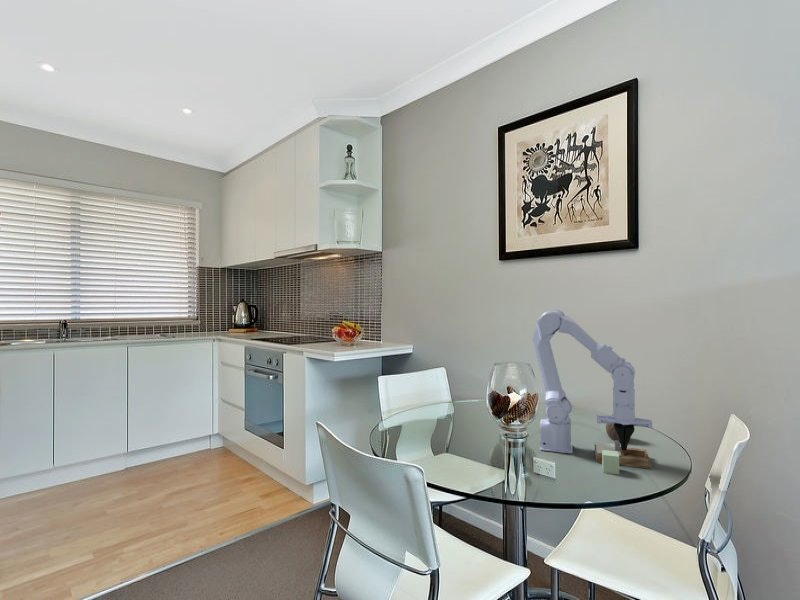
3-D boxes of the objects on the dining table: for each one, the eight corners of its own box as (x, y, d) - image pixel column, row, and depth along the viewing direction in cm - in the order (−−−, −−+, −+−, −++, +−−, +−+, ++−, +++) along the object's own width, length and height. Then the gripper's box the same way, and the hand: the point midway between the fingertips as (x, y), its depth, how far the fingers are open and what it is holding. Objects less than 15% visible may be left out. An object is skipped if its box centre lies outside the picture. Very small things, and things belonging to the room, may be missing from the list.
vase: (631, 443, 143) (631, 416, 142) (609, 442, 144) (608, 415, 144) (625, 436, 149) (625, 410, 149) (603, 435, 151) (603, 410, 150)
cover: (596, 453, 128) (596, 444, 128) (595, 443, 136) (595, 435, 136) (621, 455, 126) (621, 447, 126) (618, 446, 133) (618, 438, 133)
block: (603, 472, 121) (603, 454, 121) (602, 467, 125) (602, 449, 125) (619, 474, 120) (619, 456, 119) (617, 468, 123) (617, 451, 123)
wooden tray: (596, 462, 128) (596, 454, 128) (594, 451, 136) (594, 444, 136) (650, 468, 123) (650, 460, 123) (645, 456, 131) (645, 449, 131)
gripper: (597, 405, 128) (597, 450, 128) (654, 409, 123) (654, 457, 123) (596, 399, 134) (596, 442, 135) (650, 403, 129) (650, 448, 129)
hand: (623, 449), depth 129 cm, fingers closed
